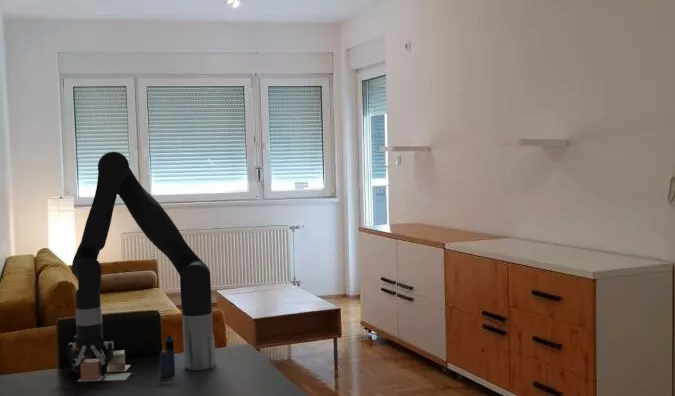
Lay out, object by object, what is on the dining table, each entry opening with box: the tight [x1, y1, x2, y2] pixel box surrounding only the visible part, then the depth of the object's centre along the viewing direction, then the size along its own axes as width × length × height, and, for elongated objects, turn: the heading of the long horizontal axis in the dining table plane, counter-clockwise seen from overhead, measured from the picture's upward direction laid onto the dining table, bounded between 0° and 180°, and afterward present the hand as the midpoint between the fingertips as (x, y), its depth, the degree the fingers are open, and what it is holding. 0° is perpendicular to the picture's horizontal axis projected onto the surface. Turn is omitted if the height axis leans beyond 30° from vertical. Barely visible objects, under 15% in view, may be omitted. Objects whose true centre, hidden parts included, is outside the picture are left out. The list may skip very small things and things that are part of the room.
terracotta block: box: [80, 358, 101, 380], centre depth 232 cm, size 5×5×5 cm
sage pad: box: [101, 372, 132, 382], centre depth 232 cm, size 7×7×1 cm
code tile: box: [77, 373, 107, 382], centre depth 232 cm, size 7×7×1 cm
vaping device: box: [159, 335, 176, 378], centre depth 232 cm, size 3×5×12 cm, turn 155°
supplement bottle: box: [71, 334, 93, 373], centre depth 240 cm, size 6×6×11 cm
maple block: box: [107, 349, 126, 371], centre depth 241 cm, size 5×5×5 cm
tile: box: [107, 364, 132, 373], centre depth 241 cm, size 7×7×1 cm
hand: (92, 376), depth 232 cm, fingers open, 6 cm apart
